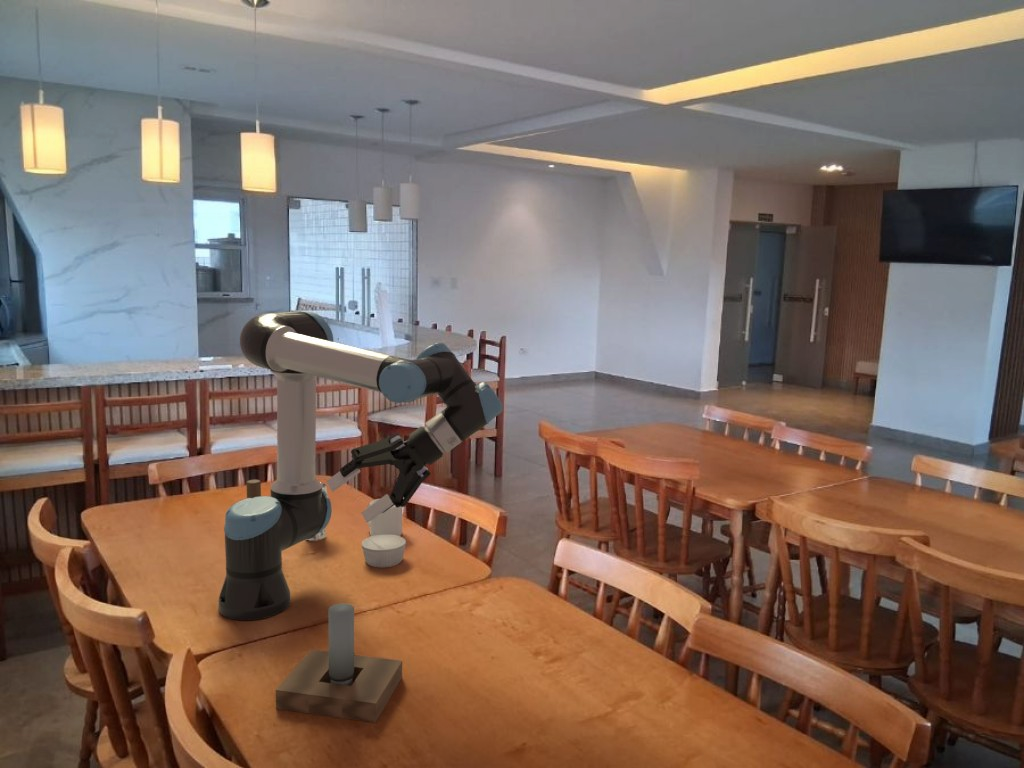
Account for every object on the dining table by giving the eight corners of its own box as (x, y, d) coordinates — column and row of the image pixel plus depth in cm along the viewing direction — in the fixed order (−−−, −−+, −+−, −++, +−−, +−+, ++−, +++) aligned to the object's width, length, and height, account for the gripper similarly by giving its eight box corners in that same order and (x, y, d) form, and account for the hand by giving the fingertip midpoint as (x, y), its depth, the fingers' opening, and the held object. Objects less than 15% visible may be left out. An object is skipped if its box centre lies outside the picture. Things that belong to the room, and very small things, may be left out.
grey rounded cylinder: (324, 698, 132) (324, 613, 129) (334, 684, 136) (334, 602, 134) (348, 701, 131) (348, 616, 129) (357, 687, 135) (357, 604, 133)
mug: (408, 534, 212) (409, 503, 211) (383, 542, 205) (383, 510, 204) (382, 524, 220) (382, 493, 219) (357, 531, 213) (357, 500, 212)
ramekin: (353, 565, 190) (353, 545, 189) (376, 550, 200) (376, 531, 199) (391, 573, 186) (391, 552, 185) (413, 557, 196) (413, 538, 195)
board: (275, 708, 128) (275, 689, 128) (311, 666, 142) (311, 649, 141) (375, 722, 125) (375, 703, 125) (402, 678, 139) (402, 660, 138)
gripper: (414, 416, 139) (319, 485, 137) (466, 481, 157) (384, 542, 155) (398, 393, 144) (307, 459, 142) (451, 459, 162) (371, 517, 161)
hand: (347, 502), depth 149 cm, fingers open, 13 cm apart
